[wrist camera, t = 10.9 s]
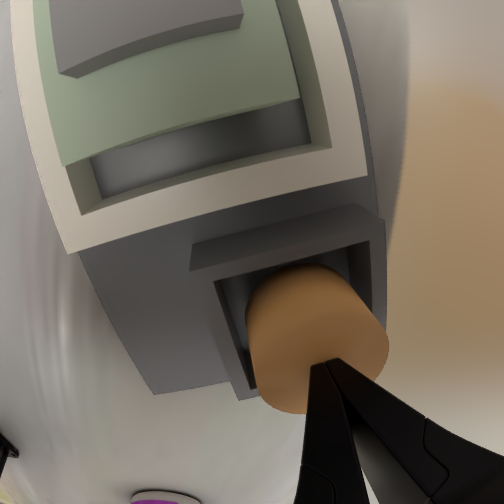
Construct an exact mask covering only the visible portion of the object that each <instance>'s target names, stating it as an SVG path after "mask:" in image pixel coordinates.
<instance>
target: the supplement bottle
mask: <svg viewBox="0 0 504 504" xmlns="http://www.w3.org/2000/svg"><path fill="white" fill-rule="evenodd" d="M130 504H200V503H199V502H198V501H197V500H195V499H193V498H191V497H188V496H185V495H181V494H177V493H171V492H162V491H148V492H142V493H138V494H136V495H134V496H133V497H132V499H131V503H130Z"/></svg>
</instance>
